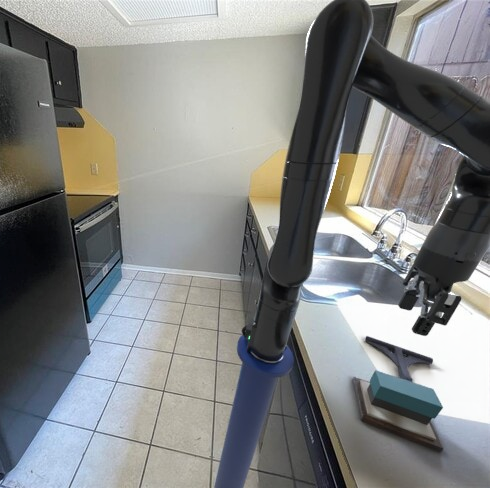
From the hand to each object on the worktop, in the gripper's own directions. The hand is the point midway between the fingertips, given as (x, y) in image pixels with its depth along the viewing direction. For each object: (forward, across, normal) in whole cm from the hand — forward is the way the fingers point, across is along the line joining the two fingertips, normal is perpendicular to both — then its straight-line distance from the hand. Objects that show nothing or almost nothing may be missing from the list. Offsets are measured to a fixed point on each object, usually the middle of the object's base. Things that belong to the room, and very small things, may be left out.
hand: (410, 320), depth 53 cm
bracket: (+21, -11, +8) cm, 25 cm away
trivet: (+21, +5, +3) cm, 22 cm away
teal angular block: (+19, +5, +3) cm, 20 cm away
